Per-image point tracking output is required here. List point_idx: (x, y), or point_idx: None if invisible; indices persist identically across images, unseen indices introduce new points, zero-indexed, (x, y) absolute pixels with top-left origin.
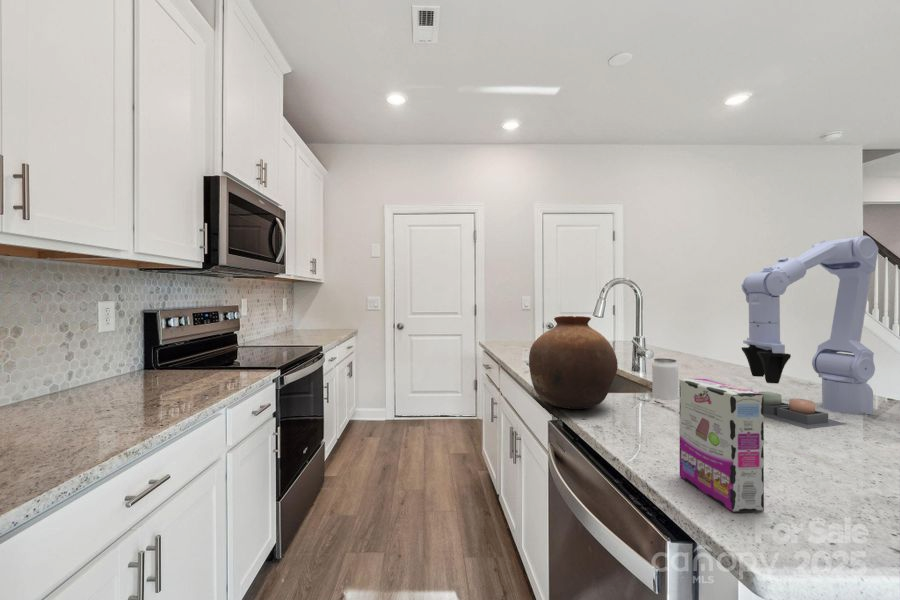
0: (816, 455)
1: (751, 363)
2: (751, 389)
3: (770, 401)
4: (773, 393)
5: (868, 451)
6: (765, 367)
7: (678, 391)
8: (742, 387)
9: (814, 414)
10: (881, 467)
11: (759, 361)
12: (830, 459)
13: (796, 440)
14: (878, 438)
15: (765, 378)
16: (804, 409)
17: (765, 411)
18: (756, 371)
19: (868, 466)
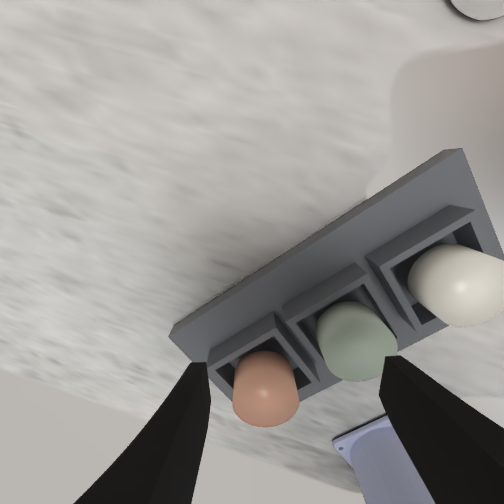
0: (19, 288)
1: (455, 432)
2: (439, 318)
3: (320, 330)
4: (369, 366)
5: (114, 384)
6: (124, 453)
7: None
8: (473, 296)
9: (227, 388)
10: (18, 364)
11: (460, 499)
12: (8, 303)
13: (120, 289)
14: (218, 431)
15: (194, 375)
16: (234, 381)
17: (303, 296)
18: (403, 396)
19: (8, 348)
